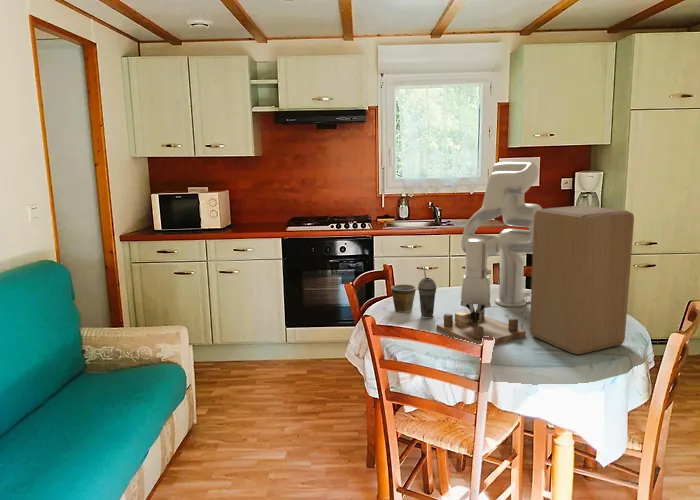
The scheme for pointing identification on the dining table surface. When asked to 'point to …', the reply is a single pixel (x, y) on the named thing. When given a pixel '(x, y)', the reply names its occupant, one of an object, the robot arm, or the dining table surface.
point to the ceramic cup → (403, 297)
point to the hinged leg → (464, 317)
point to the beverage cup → (427, 296)
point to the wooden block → (581, 277)
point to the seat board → (488, 328)
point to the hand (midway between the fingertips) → (475, 321)
